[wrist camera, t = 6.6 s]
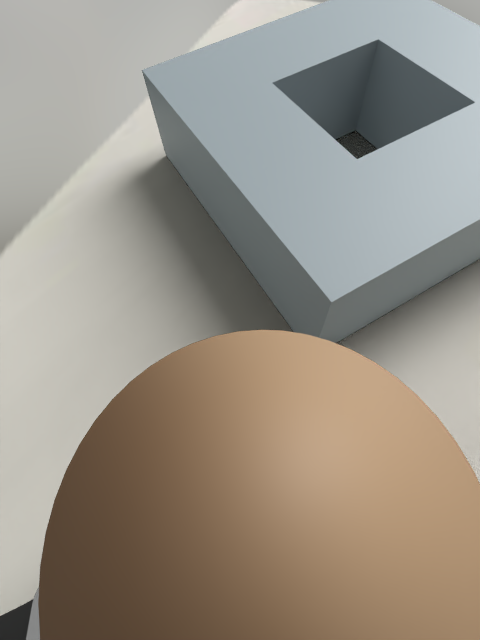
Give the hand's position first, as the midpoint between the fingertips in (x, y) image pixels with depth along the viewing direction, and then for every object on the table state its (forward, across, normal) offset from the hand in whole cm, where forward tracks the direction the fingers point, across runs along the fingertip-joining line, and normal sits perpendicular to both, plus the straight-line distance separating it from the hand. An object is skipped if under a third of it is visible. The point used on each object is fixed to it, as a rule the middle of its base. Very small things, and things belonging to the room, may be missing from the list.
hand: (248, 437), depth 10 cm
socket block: (+13, -8, -6) cm, 17 cm away
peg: (+2, 0, +5) cm, 5 cm away
